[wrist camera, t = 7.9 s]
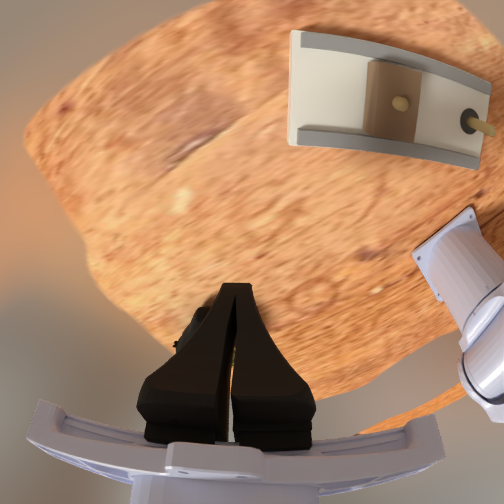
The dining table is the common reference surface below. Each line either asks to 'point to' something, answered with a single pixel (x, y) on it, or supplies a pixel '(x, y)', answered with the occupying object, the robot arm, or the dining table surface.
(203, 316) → the tape measure
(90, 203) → the dining table surface
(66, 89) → the dining table surface
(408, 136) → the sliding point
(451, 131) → the plate
